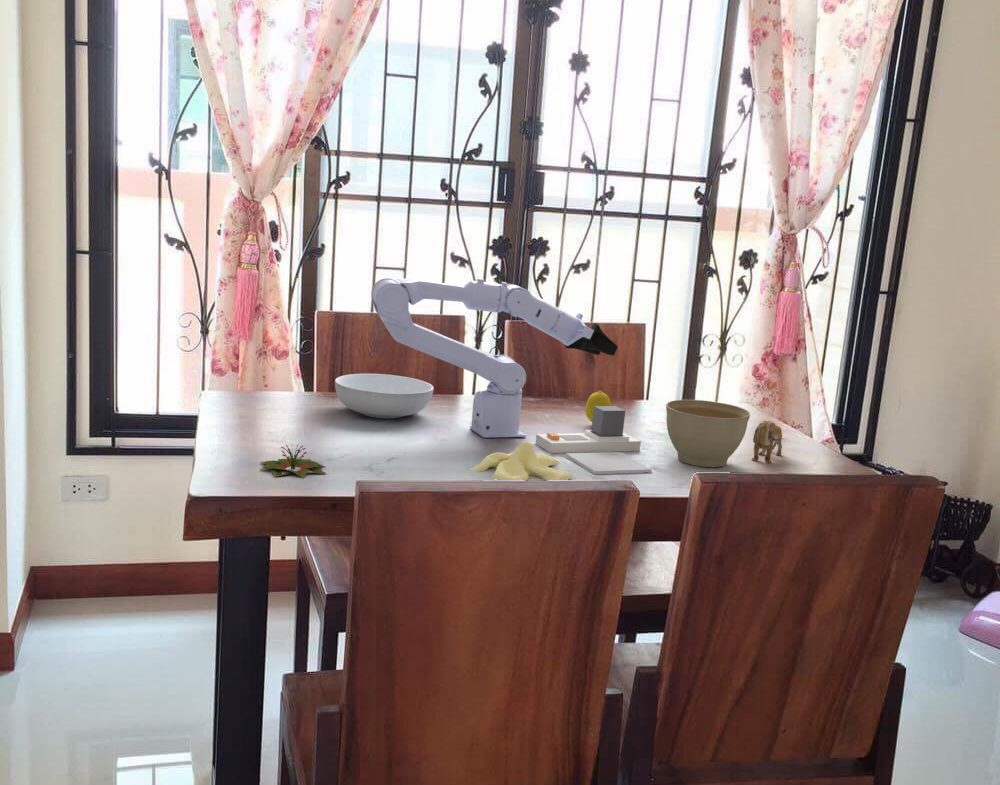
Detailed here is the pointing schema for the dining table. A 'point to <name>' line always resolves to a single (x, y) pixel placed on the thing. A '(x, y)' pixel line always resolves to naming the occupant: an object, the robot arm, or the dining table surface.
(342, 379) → the serving bowl
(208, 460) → the dining table surface
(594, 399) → the lemon
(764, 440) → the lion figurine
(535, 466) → the banana peel
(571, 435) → the power strip
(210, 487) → the dining table surface
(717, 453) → the planter bowl
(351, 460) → the dining table surface
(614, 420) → the block
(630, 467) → the mat
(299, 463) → the lily flower
